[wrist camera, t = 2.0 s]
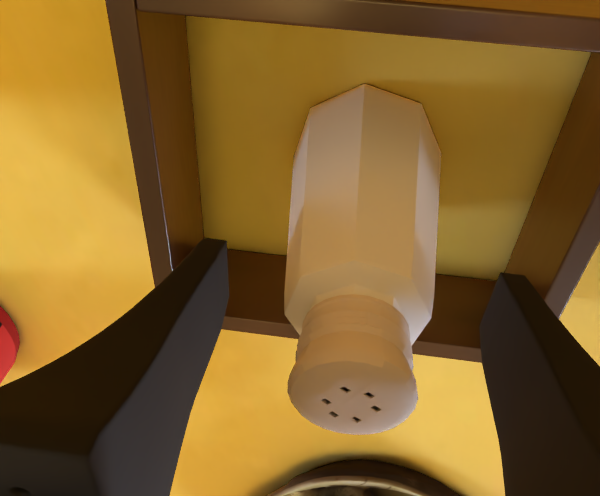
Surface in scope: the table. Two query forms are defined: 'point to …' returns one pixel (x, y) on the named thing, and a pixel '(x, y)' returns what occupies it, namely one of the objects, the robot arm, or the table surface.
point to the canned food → (7, 343)
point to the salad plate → (363, 481)
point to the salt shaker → (361, 258)
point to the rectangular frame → (379, 19)
